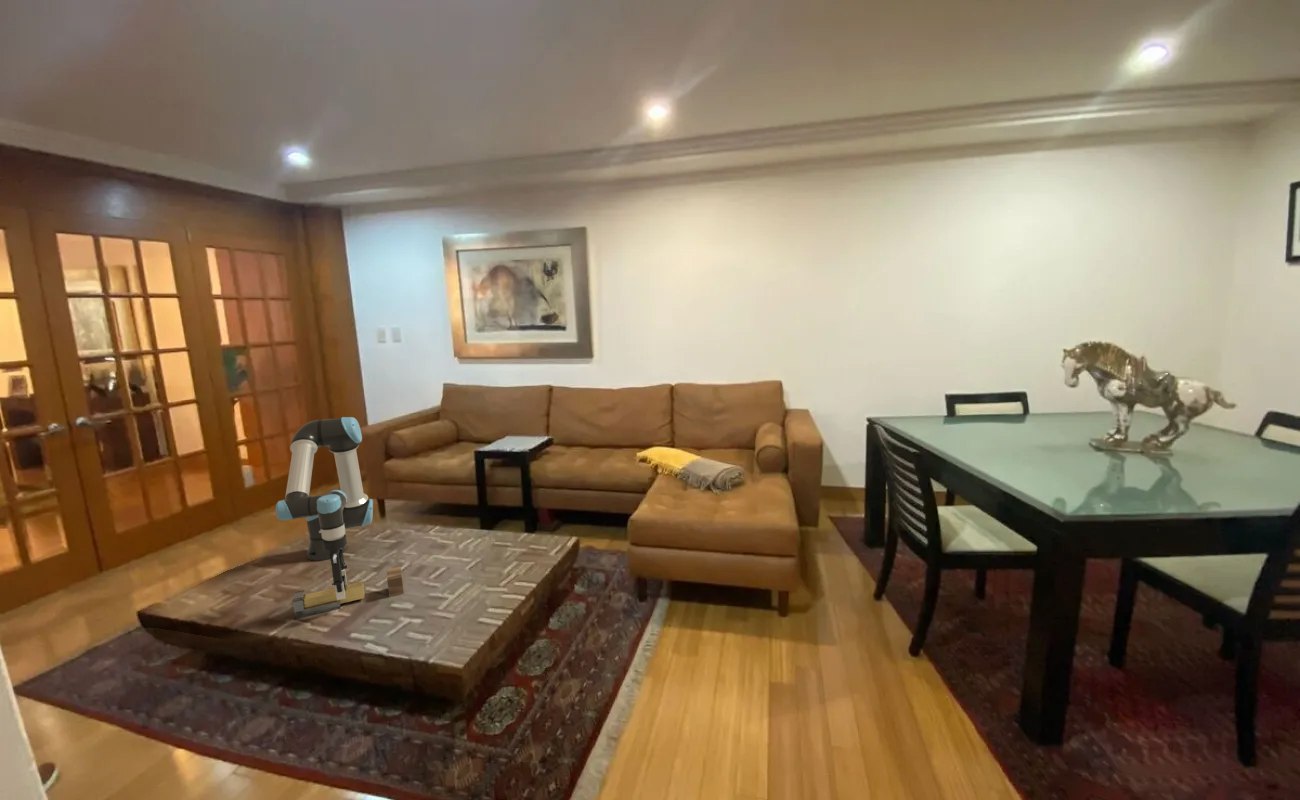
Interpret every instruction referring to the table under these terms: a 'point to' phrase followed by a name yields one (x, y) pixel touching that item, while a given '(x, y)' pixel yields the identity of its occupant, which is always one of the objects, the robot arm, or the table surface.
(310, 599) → the tan wooden bar
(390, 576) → the socket
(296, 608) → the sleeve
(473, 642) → the table surface
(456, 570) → the table surface
